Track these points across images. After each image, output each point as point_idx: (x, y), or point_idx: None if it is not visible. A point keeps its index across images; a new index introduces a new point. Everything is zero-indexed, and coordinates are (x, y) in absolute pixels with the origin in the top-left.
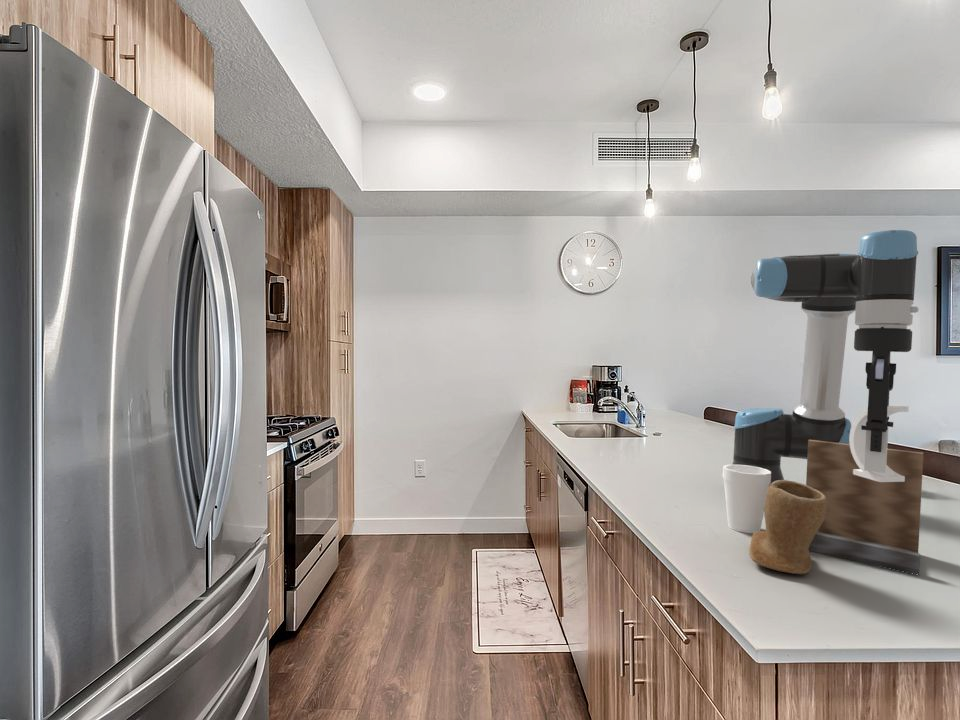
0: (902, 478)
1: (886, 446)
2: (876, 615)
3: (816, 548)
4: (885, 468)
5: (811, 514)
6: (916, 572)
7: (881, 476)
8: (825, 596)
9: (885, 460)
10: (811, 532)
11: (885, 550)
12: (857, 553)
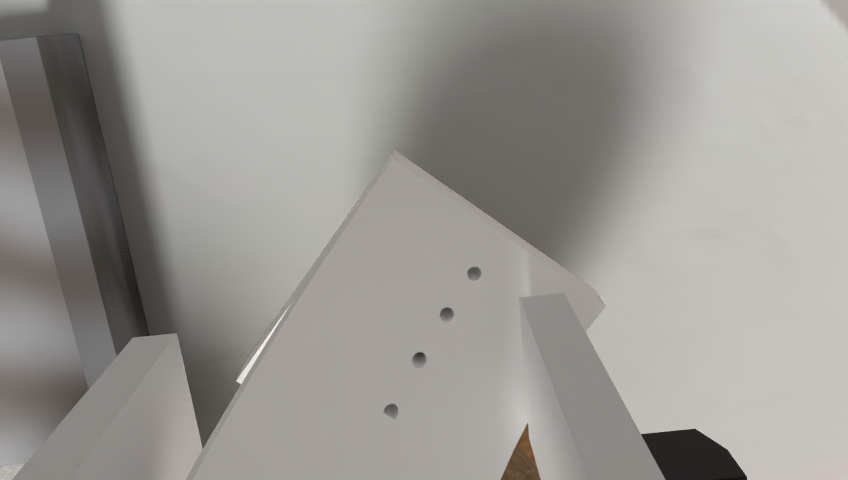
0: (412, 169)
1: (638, 432)
2: (651, 102)
3: None
4: (524, 312)
5: (532, 471)
6: (74, 44)
7: (582, 302)
8: (607, 254)
9: (591, 347)
10: None
11: (71, 166)
12: (113, 252)
